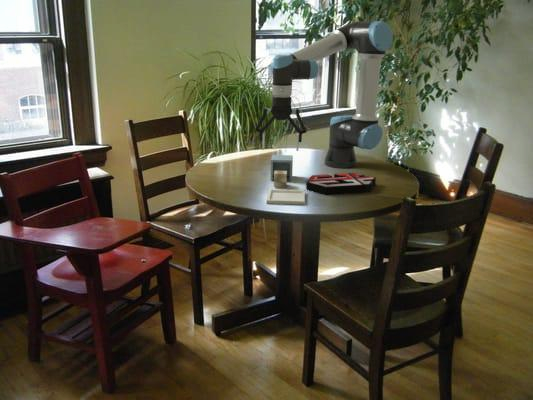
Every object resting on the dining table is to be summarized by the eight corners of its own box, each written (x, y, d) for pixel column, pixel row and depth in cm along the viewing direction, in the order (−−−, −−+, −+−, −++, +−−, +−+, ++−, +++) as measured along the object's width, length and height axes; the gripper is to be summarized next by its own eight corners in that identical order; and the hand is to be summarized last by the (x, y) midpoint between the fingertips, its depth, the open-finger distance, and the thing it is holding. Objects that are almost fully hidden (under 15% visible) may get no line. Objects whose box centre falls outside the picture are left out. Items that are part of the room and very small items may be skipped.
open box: (292, 175, 234) (292, 155, 231) (291, 181, 225) (292, 160, 223) (271, 175, 235) (272, 154, 232) (270, 180, 226) (270, 159, 223)
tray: (304, 193, 210) (304, 190, 209) (304, 205, 196) (304, 201, 196) (269, 192, 210) (269, 189, 210) (266, 203, 197) (266, 200, 197)
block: (286, 184, 221) (286, 170, 219) (286, 188, 216) (286, 174, 214) (274, 184, 221) (274, 170, 219) (273, 187, 216) (274, 173, 215)
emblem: (313, 197, 206) (384, 192, 214) (314, 188, 205) (385, 183, 212) (299, 184, 223) (366, 180, 230) (300, 175, 222) (366, 171, 229)
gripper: (249, 96, 204) (248, 150, 211) (314, 98, 203) (311, 152, 209) (251, 93, 211) (250, 146, 218) (313, 95, 210) (311, 148, 216)
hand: (280, 149), depth 214 cm, fingers open, 13 cm apart
